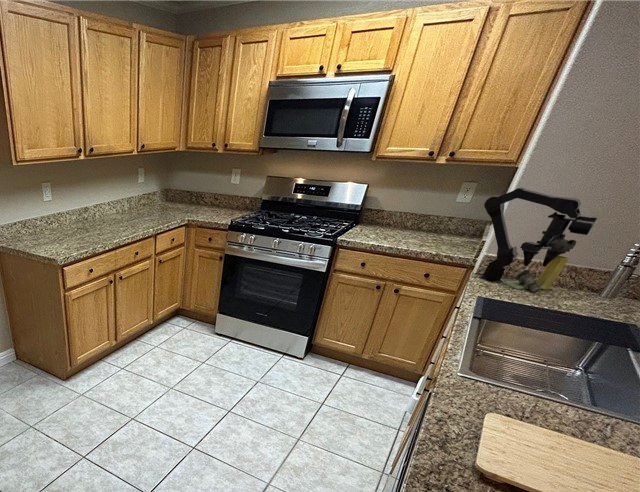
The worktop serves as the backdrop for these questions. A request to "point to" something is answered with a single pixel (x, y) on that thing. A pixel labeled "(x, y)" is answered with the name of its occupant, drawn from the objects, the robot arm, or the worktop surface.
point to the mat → (515, 284)
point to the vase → (551, 272)
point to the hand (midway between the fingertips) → (534, 266)
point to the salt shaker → (528, 281)
